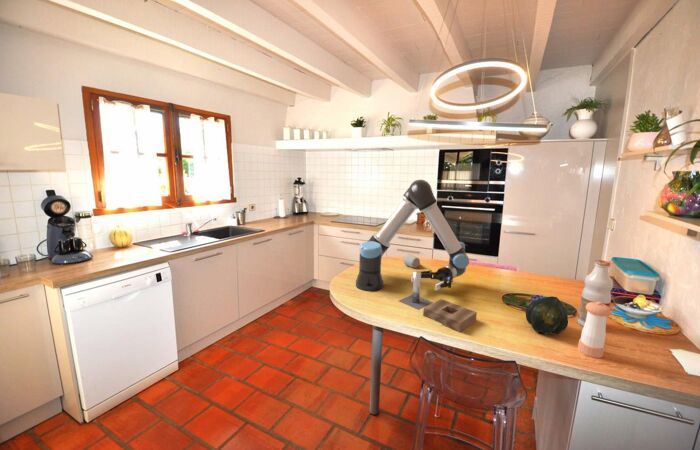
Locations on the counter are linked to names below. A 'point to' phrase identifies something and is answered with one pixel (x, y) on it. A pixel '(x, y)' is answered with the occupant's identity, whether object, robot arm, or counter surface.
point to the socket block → (450, 315)
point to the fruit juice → (596, 289)
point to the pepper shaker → (594, 330)
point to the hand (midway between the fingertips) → (423, 283)
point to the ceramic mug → (411, 261)
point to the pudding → (537, 297)
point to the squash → (547, 315)
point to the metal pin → (416, 287)
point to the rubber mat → (418, 306)
